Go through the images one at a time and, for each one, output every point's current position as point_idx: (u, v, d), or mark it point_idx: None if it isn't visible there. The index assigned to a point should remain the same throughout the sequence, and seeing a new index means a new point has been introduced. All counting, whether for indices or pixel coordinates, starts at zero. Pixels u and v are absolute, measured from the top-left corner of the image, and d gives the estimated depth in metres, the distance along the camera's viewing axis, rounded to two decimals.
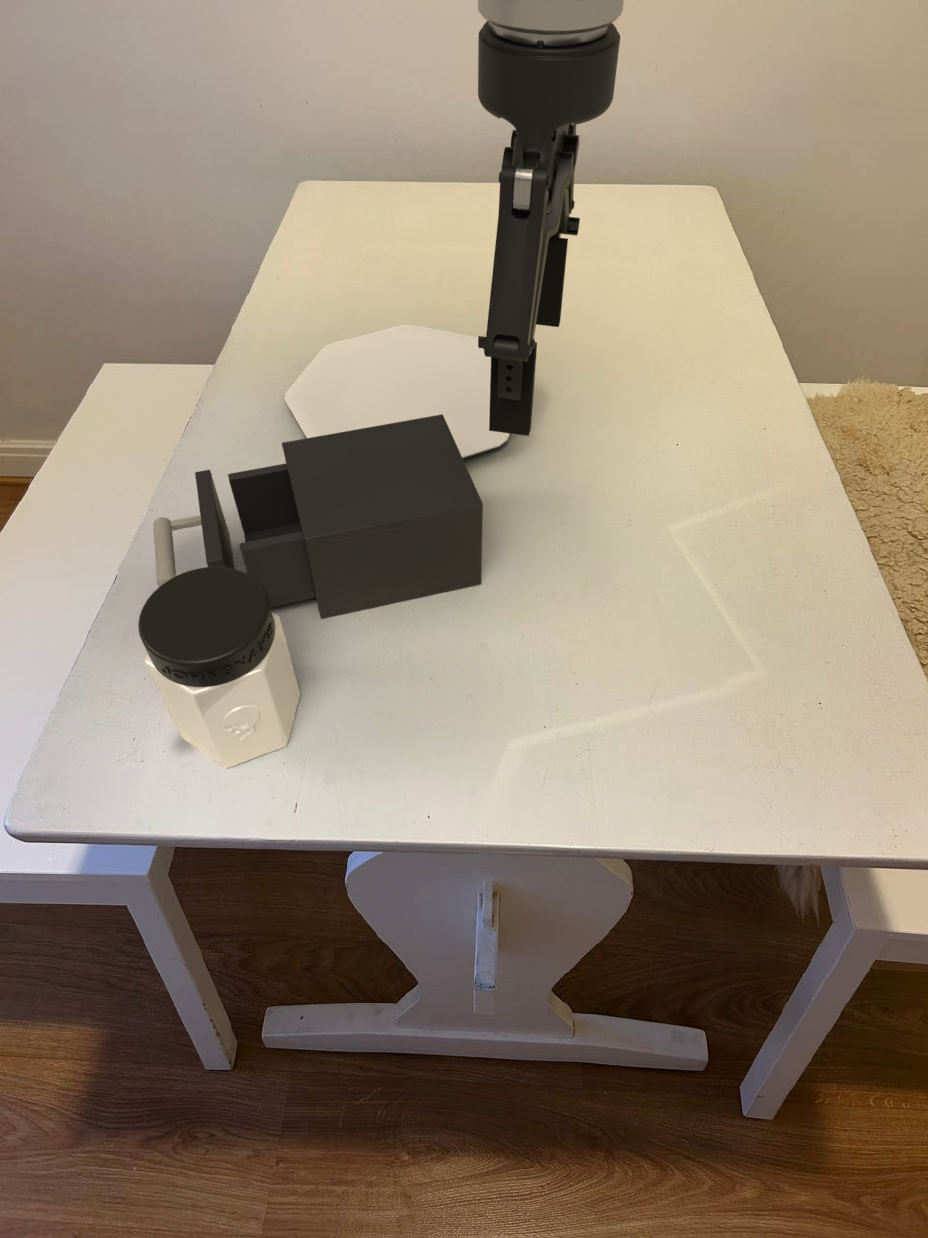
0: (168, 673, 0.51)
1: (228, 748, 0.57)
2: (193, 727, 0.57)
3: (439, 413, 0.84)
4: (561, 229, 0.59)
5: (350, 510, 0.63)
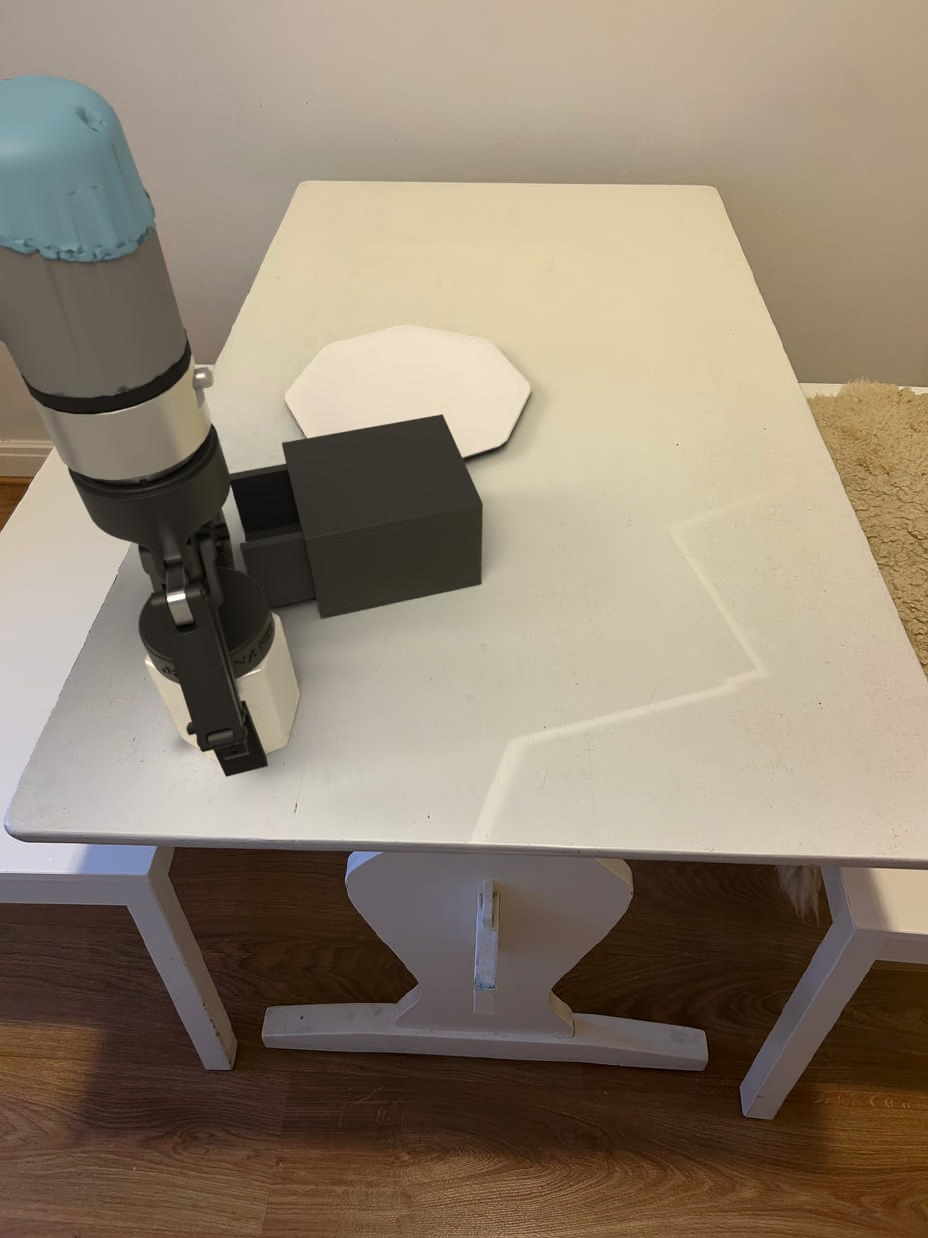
0: (168, 673, 0.51)
1: None
2: None
3: (439, 413, 0.84)
4: (213, 542, 0.57)
5: (350, 510, 0.63)
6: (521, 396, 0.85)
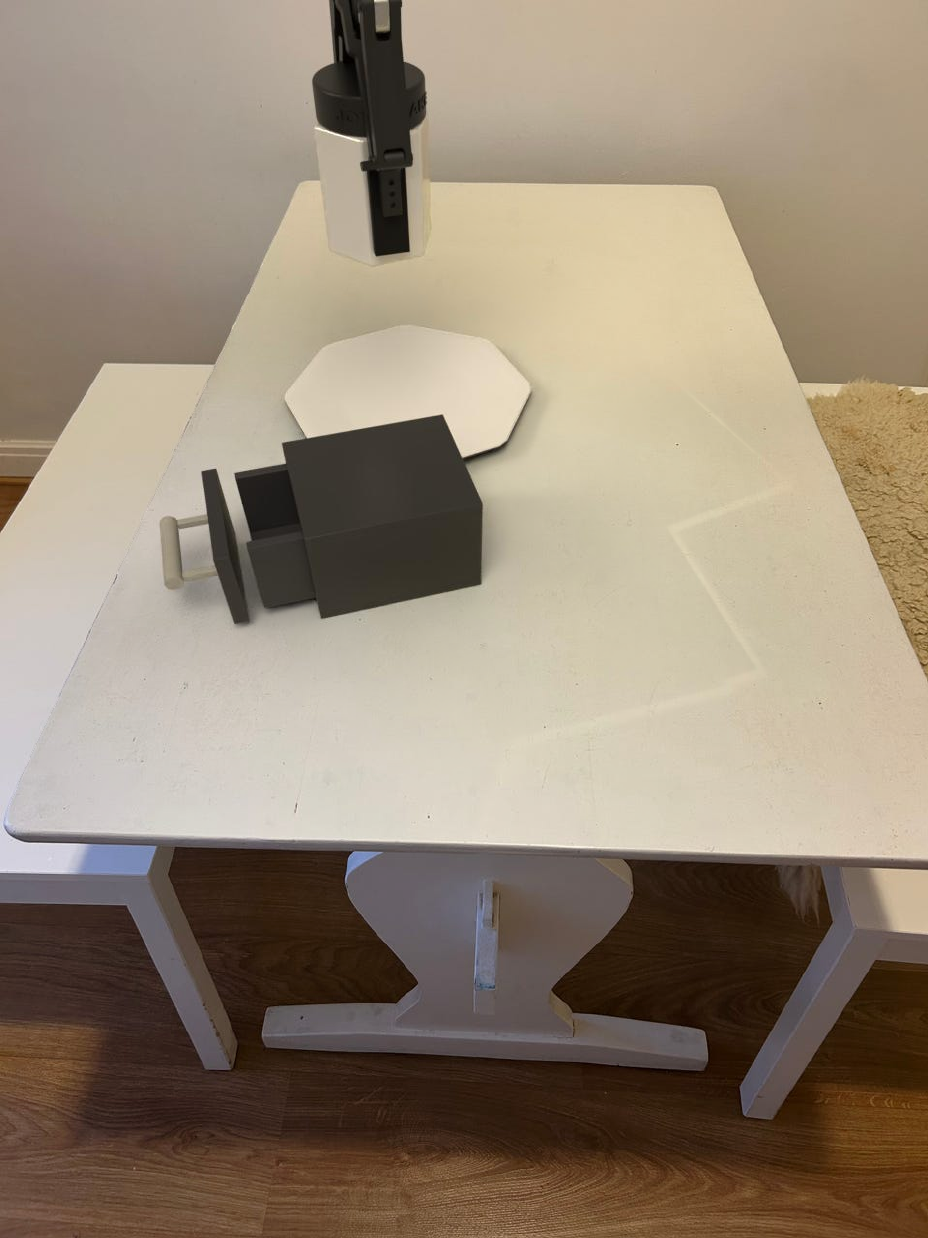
0: (341, 118, 0.59)
1: None
2: (349, 211, 0.64)
3: (439, 413, 0.84)
4: None
5: (350, 510, 0.63)
6: (521, 396, 0.85)
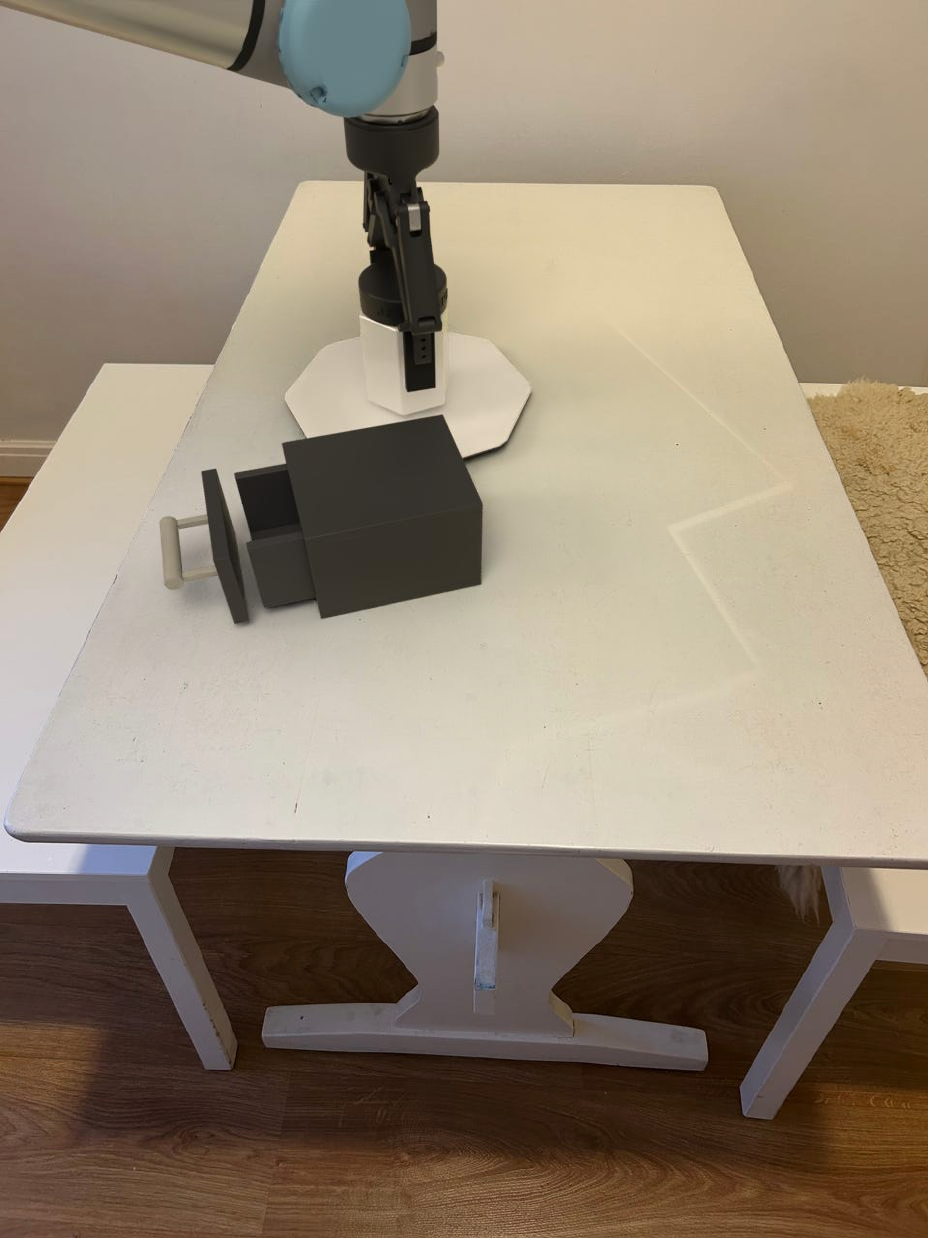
0: (381, 314, 0.75)
1: (408, 393, 0.81)
2: (385, 375, 0.80)
3: (439, 413, 0.85)
4: None
5: (350, 510, 0.63)
6: (521, 396, 0.85)
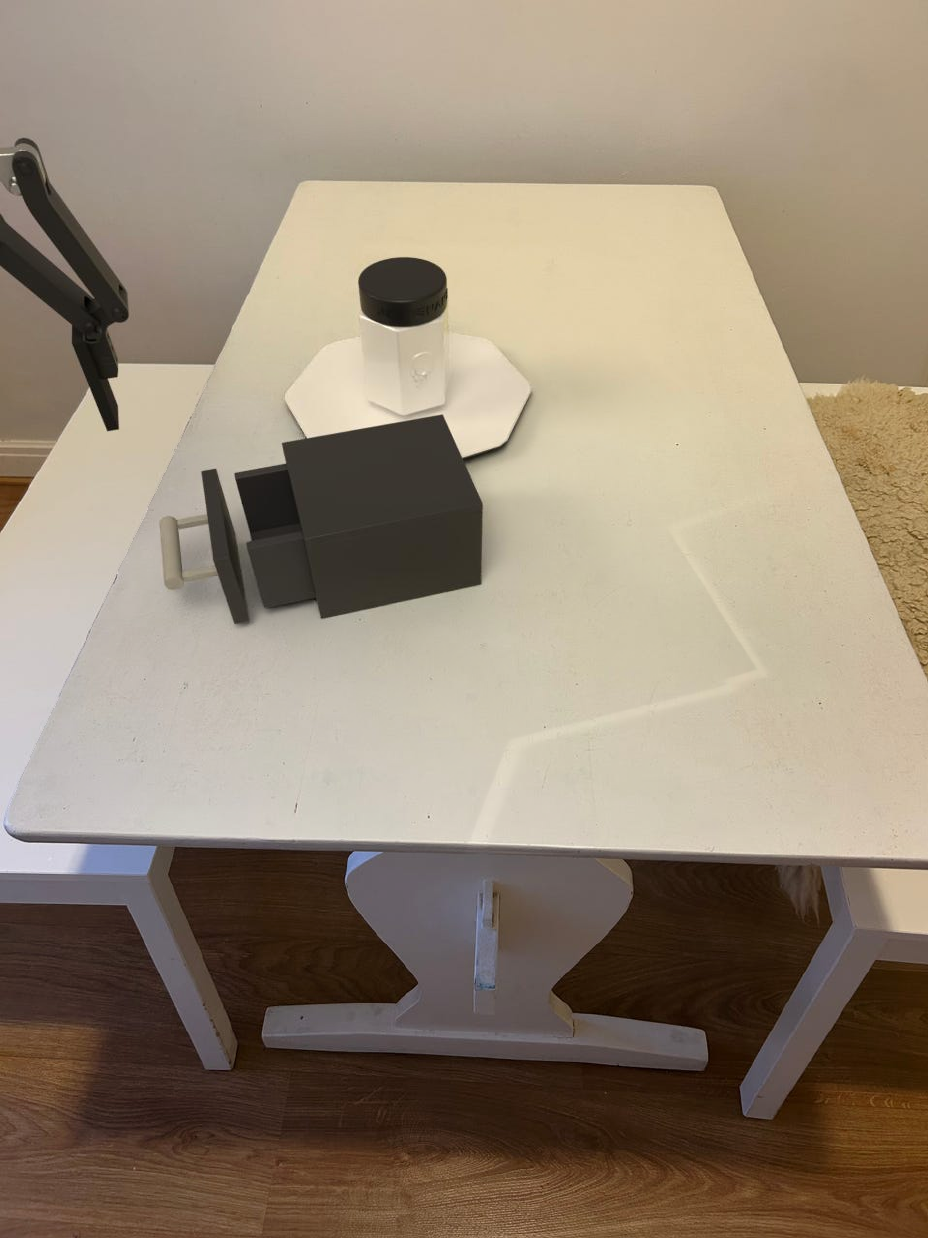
0: (381, 314, 0.75)
1: (408, 393, 0.81)
2: (385, 375, 0.80)
3: (439, 413, 0.85)
4: None
5: (350, 510, 0.63)
6: (521, 396, 0.85)
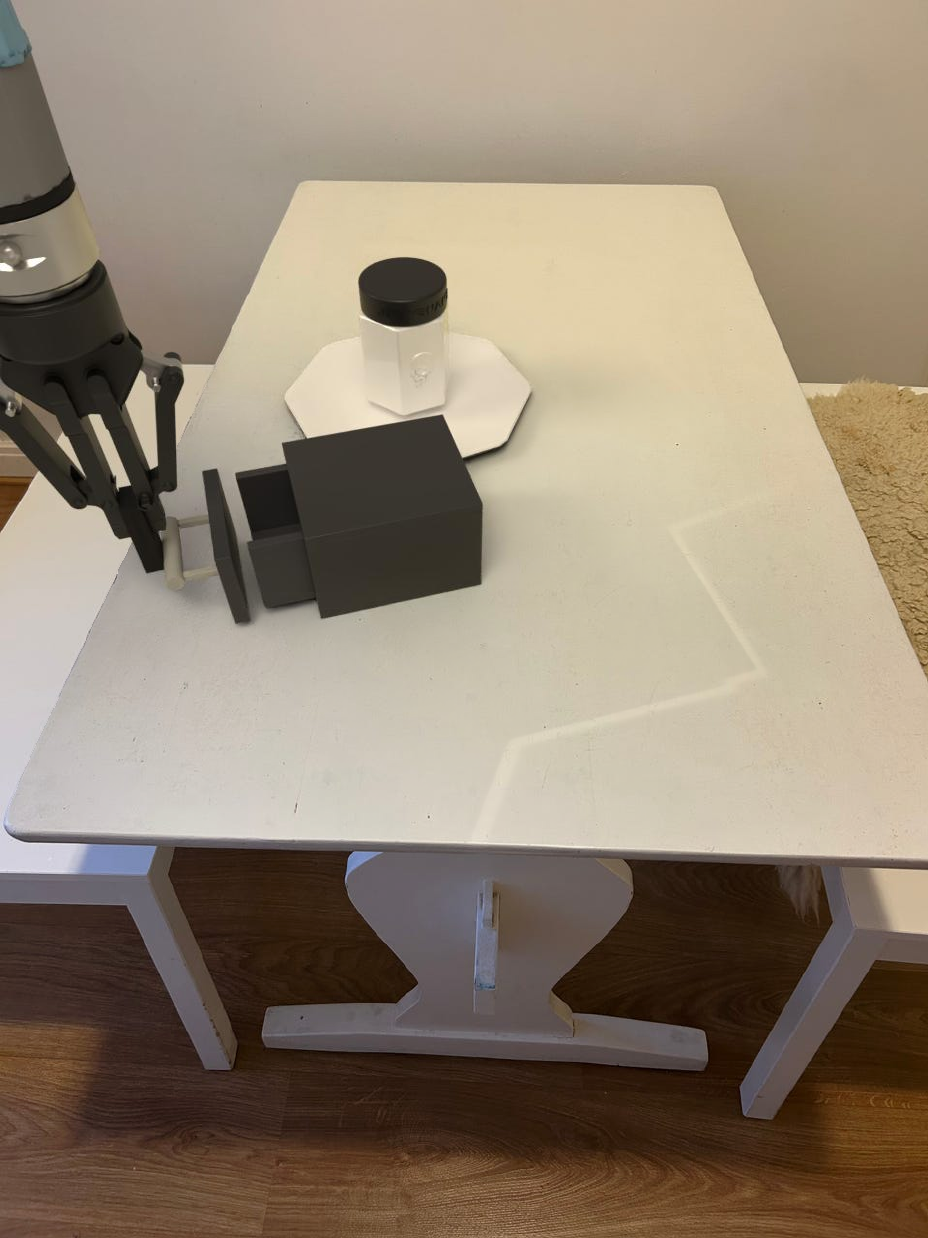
0: (381, 314, 0.75)
1: (408, 393, 0.81)
2: (385, 375, 0.80)
3: (439, 413, 0.85)
4: None
5: (350, 510, 0.63)
6: (521, 396, 0.85)
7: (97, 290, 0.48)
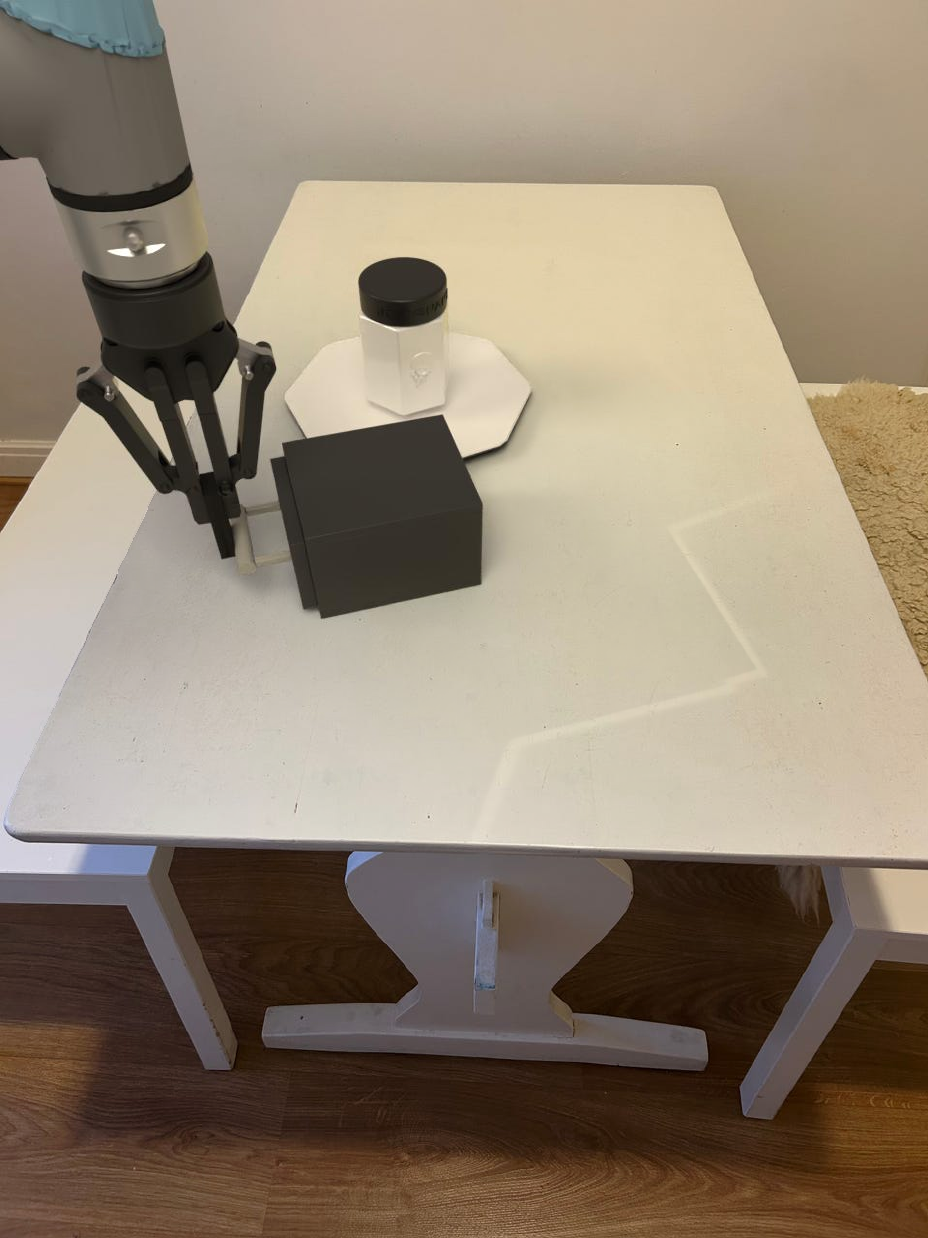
0: (381, 314, 0.75)
1: (408, 393, 0.81)
2: (385, 375, 0.80)
3: (439, 413, 0.84)
4: (214, 476, 0.61)
5: (350, 510, 0.63)
6: (521, 396, 0.85)
7: (206, 278, 0.49)
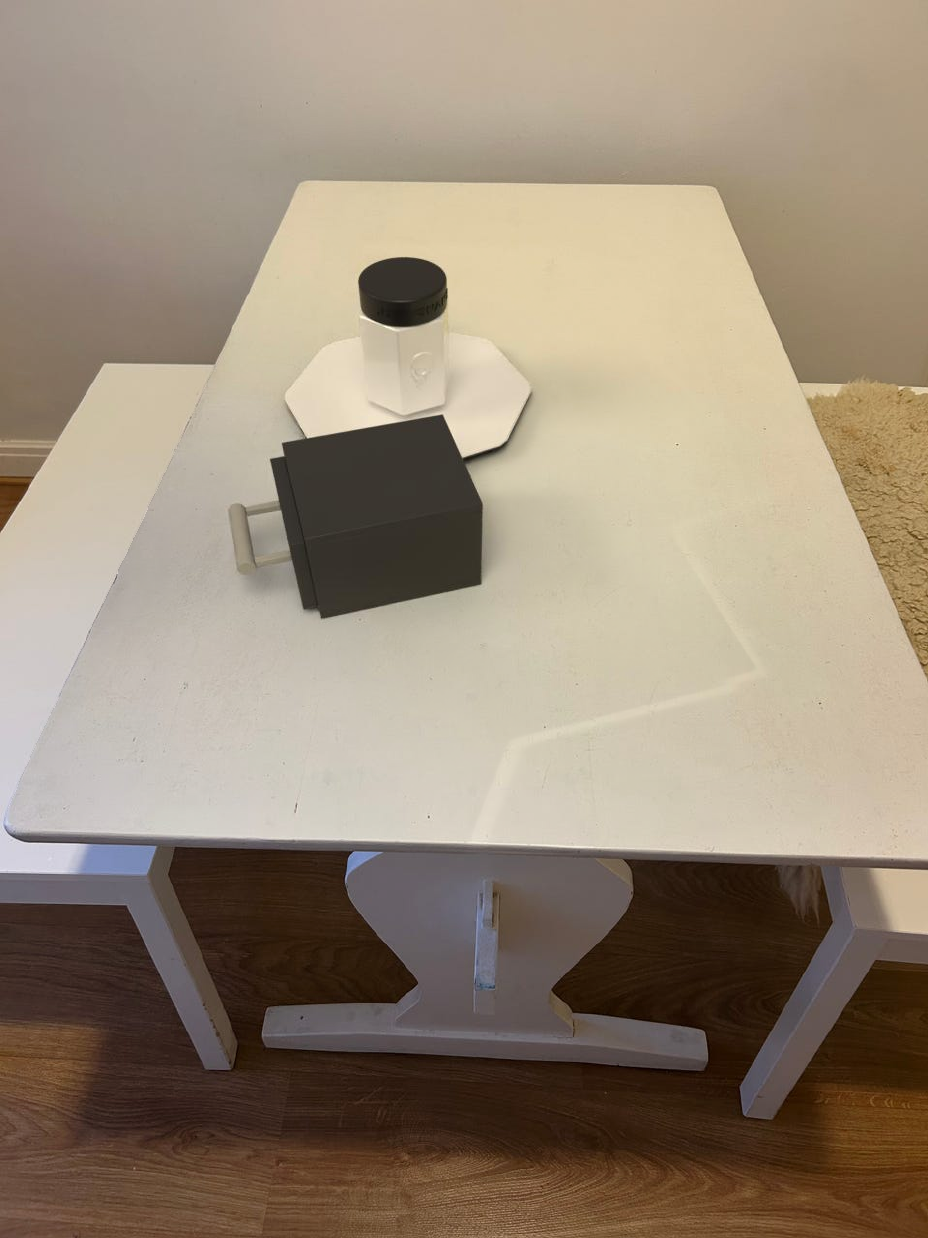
0: (381, 314, 0.75)
1: (408, 393, 0.81)
2: (385, 375, 0.80)
3: (439, 413, 0.84)
4: None
5: (350, 510, 0.63)
6: (521, 396, 0.85)
7: None
